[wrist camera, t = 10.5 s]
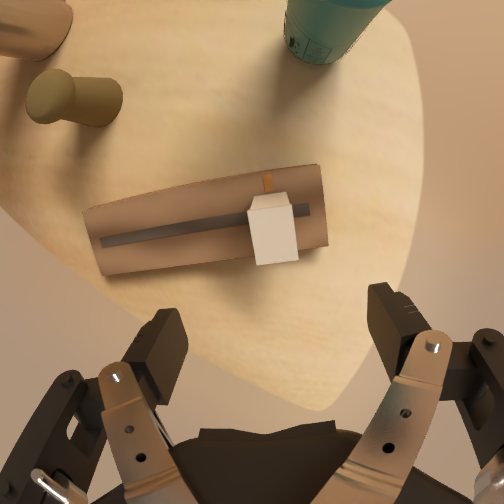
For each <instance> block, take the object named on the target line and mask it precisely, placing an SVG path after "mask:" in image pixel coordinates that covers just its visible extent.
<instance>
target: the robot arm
mask: <svg viewBox="0 0 504 504" xmlns="http://www.w3.org/2000/svg"><path fill="white" fill-rule="evenodd" d="M71 22H72V10H71V8H70V6H69V5H67V4H66V3H65V0H0V56H7V57H14V58H20V59H26V60H31V61H40V60H43V59H45V58H47V57H48V56H49V55H51V54H52V53H53V52H54V51H55V50H56V49H57V48H58V47H59V45H60V44H61V43H62V41H63V40H64V38H65V37H66V35H67V33H68V31H69V28H70V25H71ZM367 323H368V328H369V332H370V334H371V336H372V338H373V341H374V343H375V345H376V348H377V350H378V352H379V355H380V357H381V360H382V362H383V364H384V367H385V369H386V372H387V374H388V376H389V379H390V382H391V385H390V387H389V389H388V391H387V393H386V395H385V397H384V399H383V401H382V402H381V404H380V406H379V408H378V410H377V412H376V413H375V415H374V417H373V419H372V420H371V422H370V424H369V426H368V427H367V429H366V431H365V432H364V434H363V435H362V434H359V433H357V432H353V431H348V430H342V429H336V426H335V420H332V421H326V422H319V423H312V424H303V425H299V426H295V427H292V428H288V429H285V430H281V431H278V432H274V433H271V434H257V433H251V432H245V431H240V430H235V429H203V428H201V429H200V432H199V436H198V438H194V439H189V440H186V441H184V442H181V443H179V444H177V445H174V444H173V442H172V440H171V438H170V437H169V435H168V433H167V431H166V429H165V427H164V425H163V424H162V422H161V420H160V418H159V416H158V414H157V412H156V411H155V408H156V405H168V403H169V400H170V398H171V395H172V392H173V389H174V386H175V384H176V381H177V378H178V375H179V373H180V370H181V367H182V365H183V362H184V359H185V355H186V354H187V351H188V338H187V335H186V332H185V329H184V326H183V323H182V320H181V317H180V314H179V312H178V310H177V309H176V308H168V309H159V310H158V311H157V313H156V314H155V316H154V318H153V319H152V321H149V322H147V323H146V324H145V325H144V326H143V327H142V328H141V329H140V331H139V332H138V334H137V337H135V339H134V340H133V343H131V345H130V347H129V348H128V350H127V352H126V353H125V355H124V357H123V358H122V360H121V361H120V362H114V363H112V364H109V365H108V366H106V367H104V368H103V369H102V370H101V372H100V373H99V376H98V377H97V378H91V379H85V380H84V378H83V377H82V375H81V374H80V372H79V371H76V370H69V371H66V372H64V373H62V374H60V375H59V376H58V377H57V378H56V379H55V381H54V382H53V384H52V385H51V387H50V388H49V390H48V391H47V393H46V394H45V396H44V398H43V399H42V401H41V402H40V404H39V406H38V407H37V409H36V410H35V412H34V413H33V415H32V417H31V418H30V420H29V422H28V423H27V425H26V427H25V429H24V430H23V432H22V434H21V435H20V437H19V439H18V441H17V443H16V444H15V446H14V448H13V450H12V452H11V453H10V455H9V457H8V459H7V461H6V463H5V465H4V467H3V469H2V471H1V473H0V504H88V498H87V491H88V489H89V486H90V483H91V480H92V477H93V475H94V472H95V469H96V466H97V464H98V461H99V458H100V456H101V453H102V451H103V448H104V445H105V443H106V440H107V438H108V441H109V444H110V448H111V451H112V454H113V457H114V460H115V463H116V465H117V469H118V471H119V474H120V477H121V479H122V482H123V483H122V484H120V485H119V486H117V487H116V488H114V489H113V490H111V491H110V492H108V493H107V494H105V495H103V496H102V497H100V498H99V499H97V500H96V501H94V502H92V503H91V504H504V336H503V334H501V333H500V332H499V331H496V330H494V329H489V328H485V329H480V330H478V331H477V332H476V333H475V334H474V336H473V339H472V342H452V340H451V339H450V337H449V336H448V335H447V334H445V333H444V332H441V331H438V330H432V329H431V327H430V326H429V324H428V323H427V321H426V320H425V319H424V317H423V316H422V314H421V313H420V312H418V309H417V308H416V306H414V303H413V302H412V301H411V300H410V298H409V297H408V296H406V295H404V294H403V293H401V292H395V293H394V291H393V290H392V289H391V287H390V286H389V284H388V283H387V282H383V283H377V284H371V285H369V286H368V305H367ZM447 400H455V403H456V405H457V407H458V409H459V412H460V414H461V416H462V419H463V422H464V424H465V427H466V429H467V431H468V434H469V437H470V439H471V442H472V445H473V448H474V450H475V453H476V456H477V459H478V462H479V465H480V468H481V471H480V472H479V474H478V475H477V477H476V479H475V484H474V489H475V497H474V500H473V502H472V501H471V500H470V499H468V498H467V497H465V496H464V495H462V494H460V493H458V492H456V491H454V490H453V489H451V488H449V487H448V486H446V485H444V484H442V483H441V482H439V481H437V480H435V479H434V478H432V477H430V476H429V475H427V474H425V473H424V472H422V471H420V470H419V469H417V468H415V467H414V466H413V464H414V462H415V459H416V458H417V455H418V453H419V451H420V449H421V446H422V444H423V442H424V439H425V437H426V434H427V432H428V429H429V426H430V424H431V421H432V418H433V416H434V413H435V410H436V407H437V404H438V401H447ZM73 415H74V417H75V418H76V419H77V420H78V422H79V423H78V425H77V427H76V429H75V431H74V433H73V435H72V437H71V439H70V440H69V439H68V437H67V433H66V430H67V427H68V425H69V423H70V420H71V419H72V417H73Z"/></svg>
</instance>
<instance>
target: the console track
mask: <svg viewBox="0 0 504 504" xmlns="http://www.w3.org/2000/svg"><path fill="white" fill-rule="evenodd" d="M281 192H286V193H287V196H288V200H289V203H290V204H291V205H292V211H293V218H294V226H295V234H296V242H297V250H303V249H311V248H318V247H325V246H329V245H328V233H327V223H326V212H325V203H324V194H323V185H322V177H321V170H320V165H318V164H310V165H301V166H294V167H286V168H279V169H272V170H265V171H259V172H252V173H246V174H240V175H234V176H228V177H223V178H217V179H212V180H207V181H201V182H196V183H191V184H186V185H182V186H177V187H172V188H168V189H163V190H159V191H154V192H150V193H146V194H141V195H137V196H133V197H129V198H125V199H121V200H117V201H113V202H110V203H106V204H102V205H99V206H95V207H92V208H90V209H88V210H86V211H83V212H82V214H83V217H84V221H85V224H86V228H87V231H88V235H89V238H90V241H91V245H92V248H93V251H94V254H95V257H96V260H97V263H98V266H99V269H100V272H101V274H102V276H104V275H112V274H120V273H128V272H136V271H144V270H151V269H159V268H167V267H175V266H182V265H190V264H198V263H205V262H213V261H220V260H228V259H236V258H243V257H251V256H255V253H254V248H253V242H252V236H251V231H250V225H249V220H248V214H247V211H248V210H250V208H251V205H252V202H253V198H254V196H260V195H267V194H274V193H281Z"/></svg>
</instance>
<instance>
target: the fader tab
mask: <svg viewBox="0 0 504 504" xmlns="http://www.w3.org/2000/svg"><path fill="white" fill-rule="evenodd" d="M247 214H248V220H249V225H250V231H251V236H252V242H253V248H254V253H255V259H256V264H257V265H264V264H272V263H280V262H287V261H295V260H299V258H298V250H297V242H296V234H295V226H294V218H293V211H292V205H291V204H290V203H289V200H288V196H287V193H286V192H281V193H274V194H267V195H260V196H254V198H253V202H252V205H251V208H250V210H248V211H247Z"/></svg>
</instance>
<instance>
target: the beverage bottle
mask: <svg viewBox="0 0 504 504" xmlns="http://www.w3.org/2000/svg"><path fill="white" fill-rule="evenodd" d="M390 1H391V0H288V5H287V14H286V12H285V15H287V16H286V18H285V19H286V20H285V19H284V22H285V21H286V28H285V23H284V35H285V38H284V39H286V41H285V40H284V41H285V42H287V45H288V47H289V48H290V50H291V51H292V52H293V53H294V54H295V55H296V56H297V57H299V59H302V60H304V61H305V62H307V63H308V62H309V63H313V64H315V65H316V64H321V65H322V64H328V63H332V62H335V61H336V60H338V59H340V58H341V57H342V56H343V55H344V54H347V52H346V51H347V50H348V49H349V48H351V47H350V46H351V45H352V44H353V43H354V42H355V40H356V39H357V38H358V37H359V36H360V34H361V33H362V32H363V31H364V30H365V28H366V26H367V25H369V23H370V22H371V21H372V20H373V19H374V17H375V16H376V15H377V14H378V13H379V12H380V11H381V10H382V8H383V7H384V6H385V5H386V4H388V3H389V2H390ZM286 2H287V1H286ZM360 38H361V36H360ZM360 38H359V39H360ZM359 39H358V40H359ZM358 40H357V41H358ZM355 43H356V42H355ZM353 45H354V44H353ZM353 45H352V47H353ZM289 48H288V49H289ZM348 52H349V51H348ZM340 60H341V59H340Z"/></svg>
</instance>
